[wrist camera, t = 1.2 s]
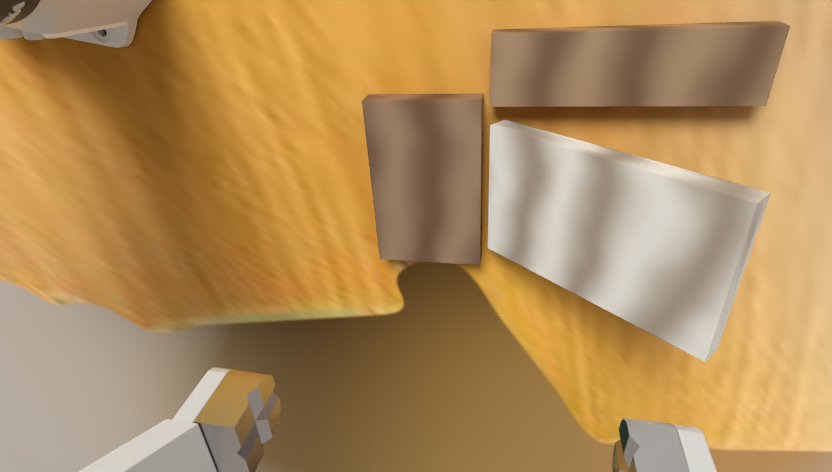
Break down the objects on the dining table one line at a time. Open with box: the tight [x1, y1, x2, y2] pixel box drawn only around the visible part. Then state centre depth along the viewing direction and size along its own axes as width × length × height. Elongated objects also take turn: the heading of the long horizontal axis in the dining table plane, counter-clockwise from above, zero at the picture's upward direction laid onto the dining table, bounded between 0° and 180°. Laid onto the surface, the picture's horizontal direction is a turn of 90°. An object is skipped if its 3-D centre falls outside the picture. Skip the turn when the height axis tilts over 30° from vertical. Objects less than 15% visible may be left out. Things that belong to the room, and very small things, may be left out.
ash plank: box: [488, 120, 770, 362], centre depth 38 cm, size 20×12×2 cm
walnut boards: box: [362, 21, 790, 265], centre depth 43 cm, size 31×21×2 cm
